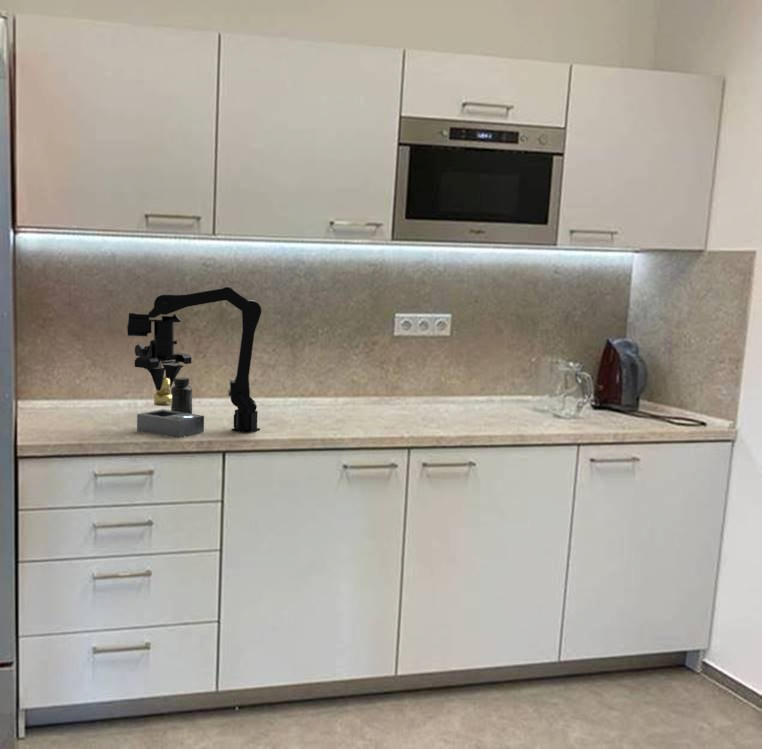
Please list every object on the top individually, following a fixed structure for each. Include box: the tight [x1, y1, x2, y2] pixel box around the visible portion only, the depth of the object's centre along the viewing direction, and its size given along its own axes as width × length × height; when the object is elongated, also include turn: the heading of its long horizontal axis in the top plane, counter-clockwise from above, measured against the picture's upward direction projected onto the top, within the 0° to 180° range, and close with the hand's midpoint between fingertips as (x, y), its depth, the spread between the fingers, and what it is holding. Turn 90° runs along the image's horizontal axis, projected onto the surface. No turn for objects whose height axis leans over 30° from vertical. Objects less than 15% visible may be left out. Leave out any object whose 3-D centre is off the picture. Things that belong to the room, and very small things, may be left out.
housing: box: [136, 408, 205, 439], centre depth 257 cm, size 16×11×5 cm
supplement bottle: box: [170, 377, 193, 414], centre depth 284 cm, size 7×7×12 cm
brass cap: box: [153, 376, 172, 407], centre depth 257 cm, size 5×5×8 cm
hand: (163, 389), depth 257 cm, fingers closed on brass cap, 4 cm apart
